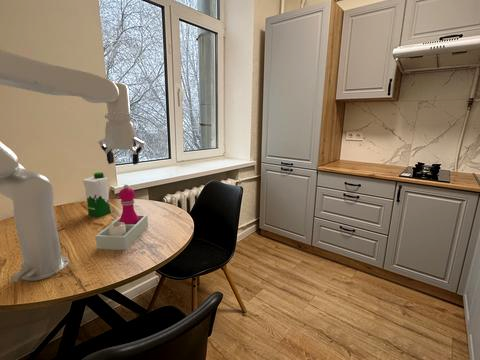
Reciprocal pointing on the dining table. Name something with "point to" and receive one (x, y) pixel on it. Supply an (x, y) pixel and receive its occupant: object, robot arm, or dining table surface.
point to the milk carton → (97, 195)
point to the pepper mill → (128, 206)
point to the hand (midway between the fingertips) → (123, 163)
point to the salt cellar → (117, 229)
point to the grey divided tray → (121, 241)
